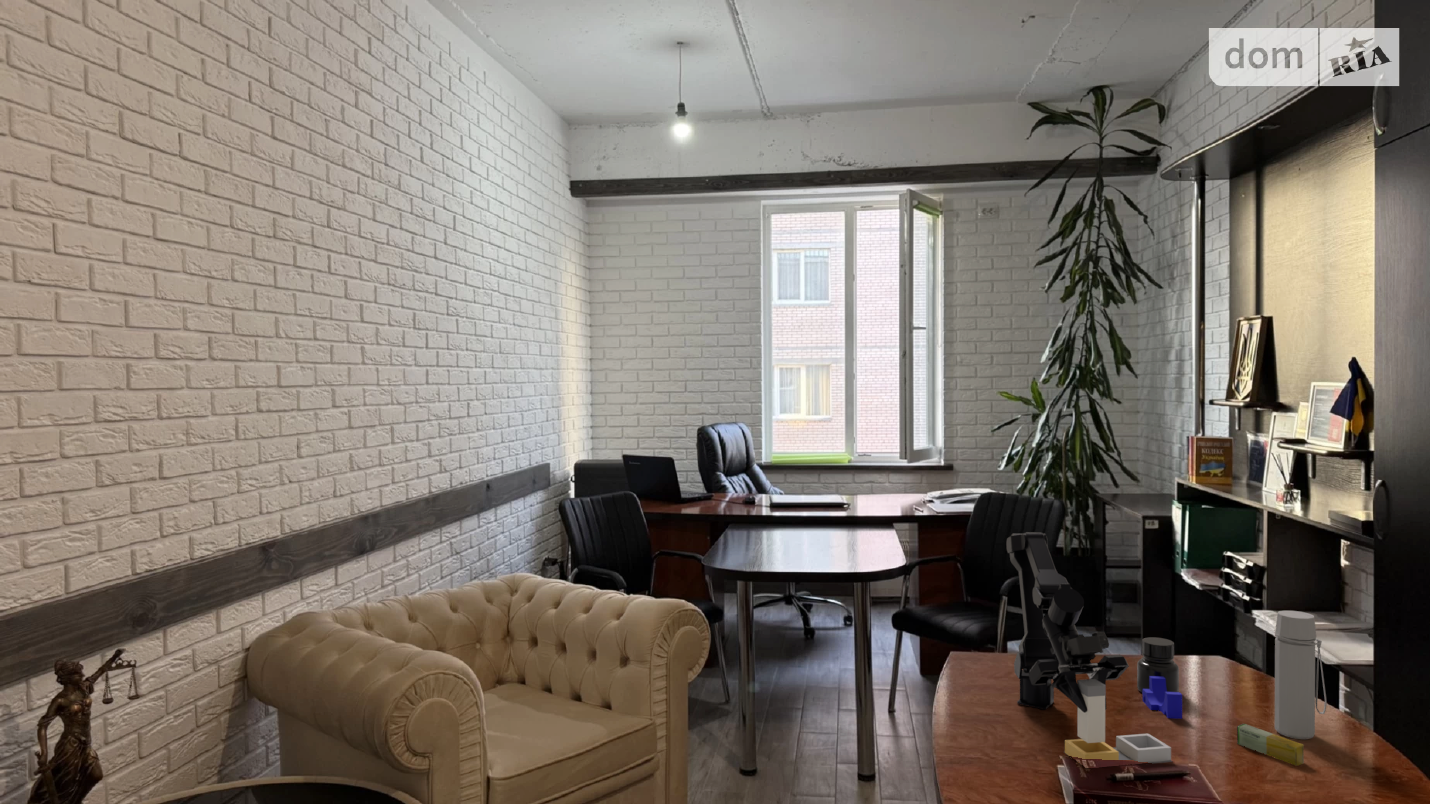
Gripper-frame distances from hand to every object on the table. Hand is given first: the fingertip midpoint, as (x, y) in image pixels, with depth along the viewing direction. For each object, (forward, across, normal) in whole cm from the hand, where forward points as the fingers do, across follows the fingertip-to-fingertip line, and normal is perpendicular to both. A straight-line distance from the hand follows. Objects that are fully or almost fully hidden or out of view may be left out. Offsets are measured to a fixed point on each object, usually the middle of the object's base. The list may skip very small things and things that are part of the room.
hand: (1095, 710), depth 174 cm
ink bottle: (-16, +37, +32) cm, 51 cm away
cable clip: (-8, +30, +24) cm, 39 cm away
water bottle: (+4, +49, +12) cm, 51 cm away
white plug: (+3, 0, +5) cm, 6 cm away
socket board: (+6, +6, +8) cm, 12 cm away
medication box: (+9, +36, +7) cm, 38 cm away
